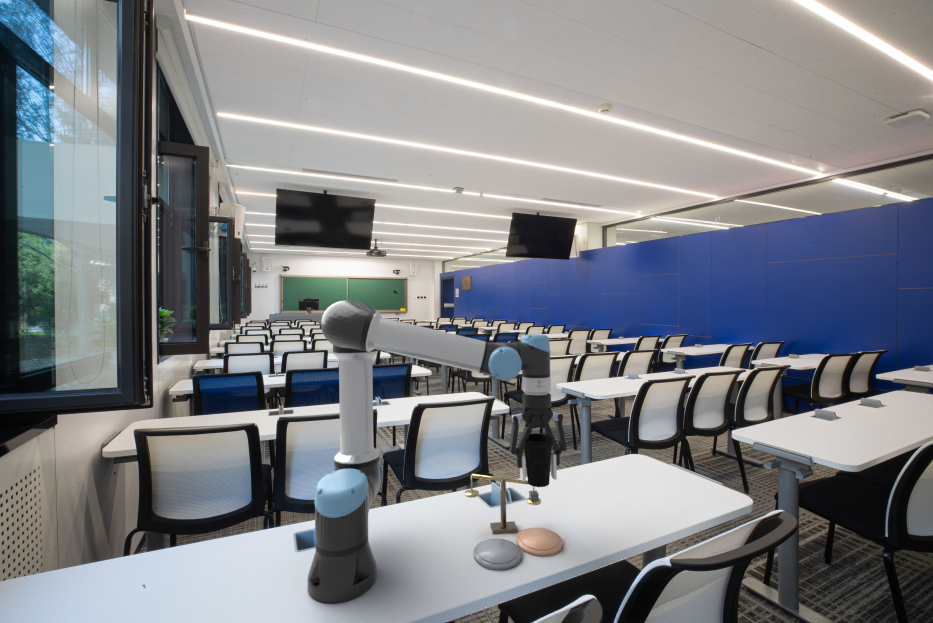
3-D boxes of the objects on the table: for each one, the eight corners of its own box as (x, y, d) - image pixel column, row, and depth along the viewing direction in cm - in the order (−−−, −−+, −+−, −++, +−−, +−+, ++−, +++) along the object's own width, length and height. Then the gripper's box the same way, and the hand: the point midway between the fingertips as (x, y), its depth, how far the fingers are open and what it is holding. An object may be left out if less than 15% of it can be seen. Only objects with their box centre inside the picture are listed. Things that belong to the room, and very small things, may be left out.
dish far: (522, 558, 100) (522, 553, 100) (512, 532, 112) (512, 528, 112) (569, 554, 101) (569, 549, 101) (553, 529, 113) (553, 525, 113)
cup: (553, 489, 102) (552, 442, 102) (523, 487, 104) (522, 441, 104) (553, 477, 110) (552, 433, 110) (524, 476, 111) (524, 432, 111)
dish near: (476, 572, 95) (476, 566, 95) (471, 543, 107) (470, 539, 107) (526, 567, 96) (526, 562, 96) (515, 540, 108) (515, 535, 108)
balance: (466, 535, 110) (465, 477, 111) (464, 528, 114) (463, 471, 115) (543, 530, 113) (542, 472, 113) (539, 522, 117) (538, 467, 117)
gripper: (501, 396, 102) (503, 486, 102) (579, 393, 104) (581, 481, 104) (496, 391, 110) (497, 475, 109) (568, 388, 112) (570, 470, 112)
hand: (538, 478), depth 107 cm, fingers closed on cup, 8 cm apart
